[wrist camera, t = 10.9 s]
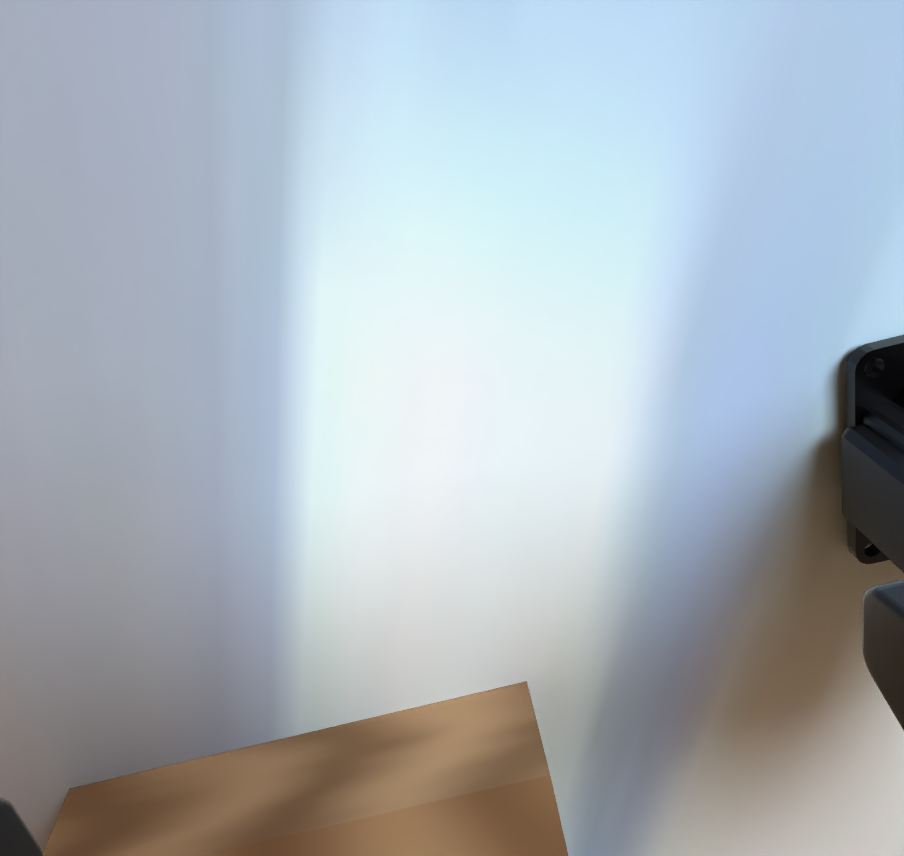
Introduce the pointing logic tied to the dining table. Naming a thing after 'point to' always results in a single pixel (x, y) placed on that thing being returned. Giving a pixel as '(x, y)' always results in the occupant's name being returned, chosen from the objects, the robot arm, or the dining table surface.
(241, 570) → the dining table surface
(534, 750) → the brown block
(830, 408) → the dining table surface
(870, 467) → the robot arm
